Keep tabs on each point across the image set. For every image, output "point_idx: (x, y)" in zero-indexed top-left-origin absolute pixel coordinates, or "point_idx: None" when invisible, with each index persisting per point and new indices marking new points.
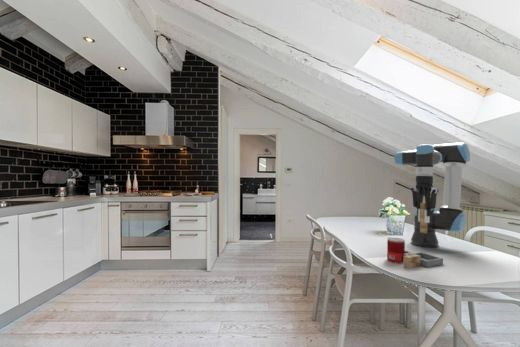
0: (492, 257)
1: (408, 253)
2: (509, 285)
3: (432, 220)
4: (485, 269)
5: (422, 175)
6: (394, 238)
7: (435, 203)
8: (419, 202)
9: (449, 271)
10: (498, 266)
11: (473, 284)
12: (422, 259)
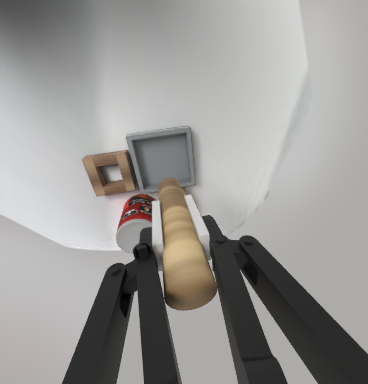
0: None
1: (126, 173)
2: (307, 114)
3: None
4: (247, 47)
5: None
6: (122, 233)
7: (279, 265)
8: (166, 312)
9: (222, 154)
10: None
11: (274, 171)
12: (183, 184)
